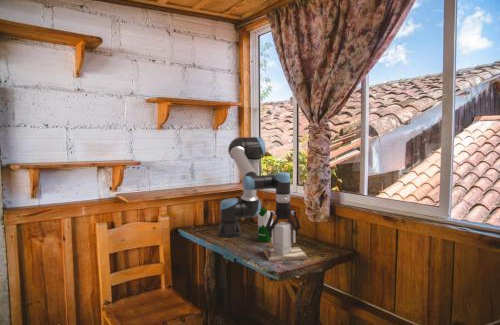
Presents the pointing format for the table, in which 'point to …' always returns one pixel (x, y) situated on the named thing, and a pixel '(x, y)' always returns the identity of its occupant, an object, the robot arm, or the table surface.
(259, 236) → the milk carton
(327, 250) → the table surface
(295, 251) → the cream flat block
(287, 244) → the skincare box
